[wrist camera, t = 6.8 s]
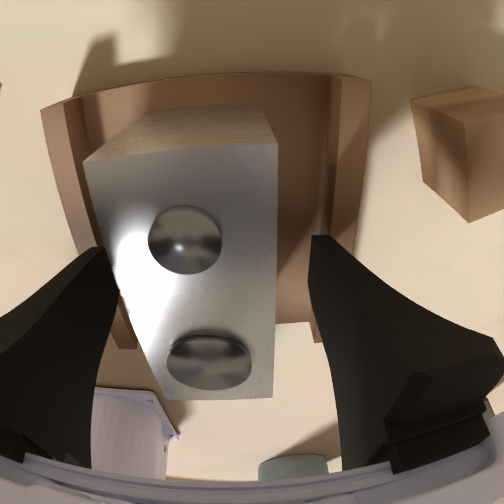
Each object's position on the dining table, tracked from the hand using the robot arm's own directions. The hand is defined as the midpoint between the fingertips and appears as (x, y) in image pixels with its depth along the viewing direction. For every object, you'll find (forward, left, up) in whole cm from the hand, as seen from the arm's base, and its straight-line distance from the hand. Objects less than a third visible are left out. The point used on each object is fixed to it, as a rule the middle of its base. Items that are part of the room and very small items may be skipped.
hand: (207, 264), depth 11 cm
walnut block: (+4, -11, -4) cm, 12 cm away
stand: (0, 0, -4) cm, 4 cm away
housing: (0, 0, -3) cm, 3 cm away
